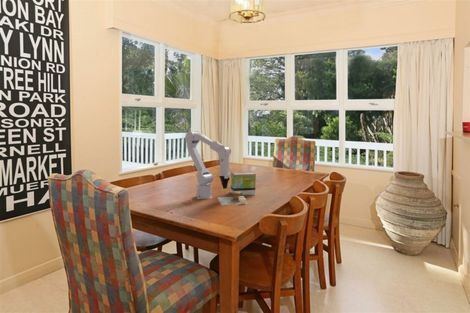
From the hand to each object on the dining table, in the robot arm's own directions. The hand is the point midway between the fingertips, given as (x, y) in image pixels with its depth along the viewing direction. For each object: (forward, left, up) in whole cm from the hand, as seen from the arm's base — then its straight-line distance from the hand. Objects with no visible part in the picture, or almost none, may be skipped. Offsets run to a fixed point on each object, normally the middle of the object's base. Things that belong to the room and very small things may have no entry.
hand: (224, 187), depth 196 cm
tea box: (+15, +15, -9) cm, 23 cm away
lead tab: (0, 0, -1) cm, 1 cm away
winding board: (+5, -2, -8) cm, 10 cm away
